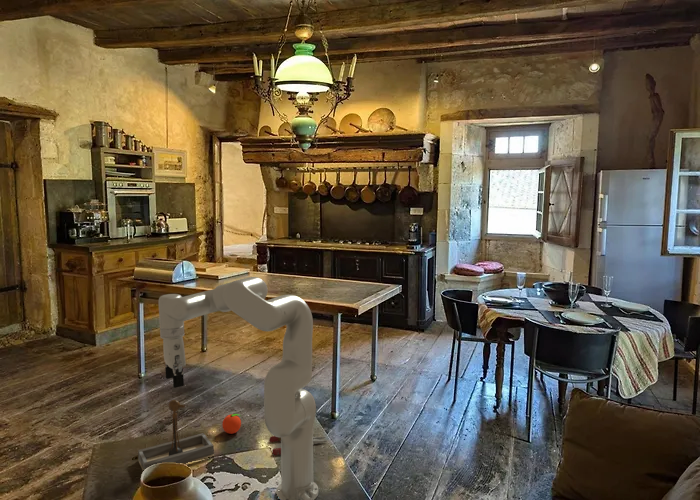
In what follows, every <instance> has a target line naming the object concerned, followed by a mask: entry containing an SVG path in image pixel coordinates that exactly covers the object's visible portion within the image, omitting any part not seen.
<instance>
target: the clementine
mask: <svg viewBox="0 0 700 500" xmlns="http://www.w3.org/2000/svg"><path fill="white" fill-rule="evenodd" d="M239 416H240V417H241V418H243V416H242V415H241V414H239V413H232V414H228V415H226V416H225V417H224V419H223V420H222V425H221V426H222V429H223V431H224V432H225V433H227V434H231V435H233V434H236V433H237V432H238V431H239V430H240V429H241V426H242V420H241V418H240V417H239Z"/></svg>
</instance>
